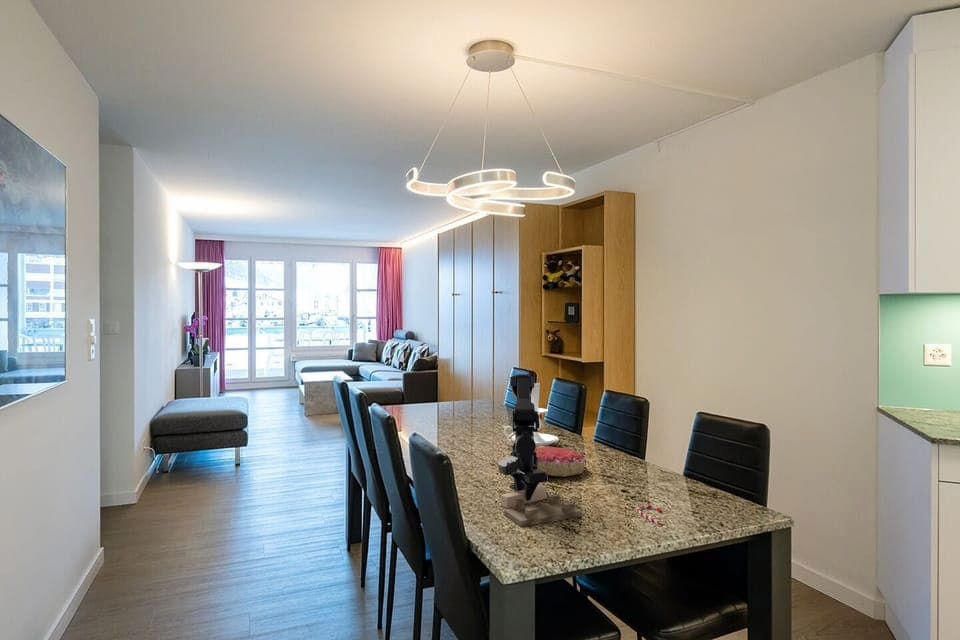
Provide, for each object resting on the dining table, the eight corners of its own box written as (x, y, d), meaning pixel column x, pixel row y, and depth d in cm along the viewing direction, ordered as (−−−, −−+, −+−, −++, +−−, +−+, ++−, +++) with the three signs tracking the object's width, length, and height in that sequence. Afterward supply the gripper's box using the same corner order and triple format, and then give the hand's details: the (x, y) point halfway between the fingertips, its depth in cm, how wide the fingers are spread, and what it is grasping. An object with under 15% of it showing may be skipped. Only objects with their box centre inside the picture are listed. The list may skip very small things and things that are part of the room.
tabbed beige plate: (520, 526, 157) (520, 511, 157) (504, 514, 166) (504, 501, 166) (582, 516, 165) (582, 502, 165) (563, 505, 175) (563, 492, 174)
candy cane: (649, 522, 158) (631, 504, 173) (649, 527, 158) (631, 509, 173) (676, 522, 159) (657, 504, 174) (676, 527, 159) (657, 508, 174)
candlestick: (501, 440, 266) (501, 379, 265) (554, 440, 266) (555, 379, 266) (504, 450, 245) (504, 384, 245) (562, 450, 246) (562, 384, 245)
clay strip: (506, 509, 172) (507, 497, 172) (500, 506, 175) (500, 494, 175) (546, 499, 182) (546, 488, 182) (540, 496, 184) (540, 485, 184)
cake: (510, 473, 206) (512, 450, 206) (523, 459, 230) (525, 439, 231) (580, 483, 200) (582, 460, 200) (586, 468, 224) (588, 447, 224)
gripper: (487, 444, 183) (487, 493, 183) (515, 457, 166) (515, 511, 166) (518, 440, 188) (518, 488, 188) (548, 453, 171) (548, 506, 171)
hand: (524, 498), depth 178 cm, fingers open, 5 cm apart
